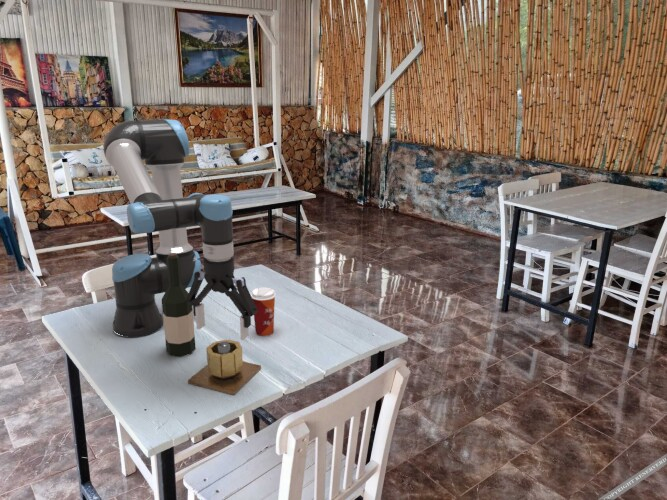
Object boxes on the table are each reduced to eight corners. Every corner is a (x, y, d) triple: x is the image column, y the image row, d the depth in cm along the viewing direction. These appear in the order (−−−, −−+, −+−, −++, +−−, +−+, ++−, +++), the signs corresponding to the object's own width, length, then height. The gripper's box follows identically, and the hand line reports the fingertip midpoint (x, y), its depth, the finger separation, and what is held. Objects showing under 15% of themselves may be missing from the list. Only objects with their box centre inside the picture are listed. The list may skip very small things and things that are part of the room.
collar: (201, 372, 139) (200, 352, 138) (220, 357, 147) (219, 337, 145) (230, 379, 136) (229, 358, 134) (247, 363, 144) (247, 343, 142)
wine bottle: (180, 359, 150) (171, 261, 141) (160, 351, 155) (150, 255, 145) (201, 348, 157) (194, 252, 148) (182, 340, 161) (173, 247, 152)
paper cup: (272, 338, 163) (271, 297, 159) (248, 336, 165) (247, 295, 160) (279, 327, 170) (278, 287, 166) (257, 325, 172) (255, 285, 167)
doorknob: (188, 383, 139) (185, 351, 136) (218, 358, 151) (216, 328, 148) (233, 395, 134) (232, 362, 131) (261, 368, 146) (260, 338, 143)
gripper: (168, 254, 133) (174, 329, 140) (254, 269, 124) (256, 348, 131) (186, 245, 140) (191, 317, 147) (269, 259, 131) (270, 335, 138)
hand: (222, 332), depth 139 cm, fingers open, 13 cm apart
